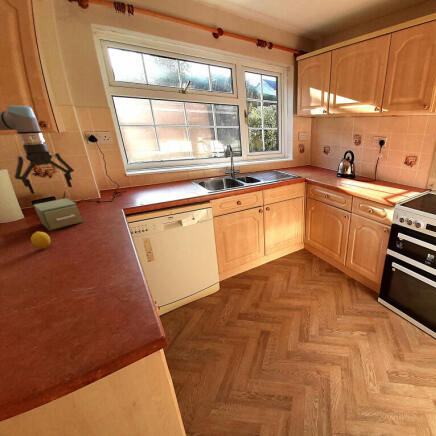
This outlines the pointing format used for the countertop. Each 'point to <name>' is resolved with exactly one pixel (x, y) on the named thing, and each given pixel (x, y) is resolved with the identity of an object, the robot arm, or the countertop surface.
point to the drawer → (62, 217)
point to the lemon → (40, 240)
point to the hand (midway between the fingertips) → (52, 189)
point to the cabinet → (50, 206)
